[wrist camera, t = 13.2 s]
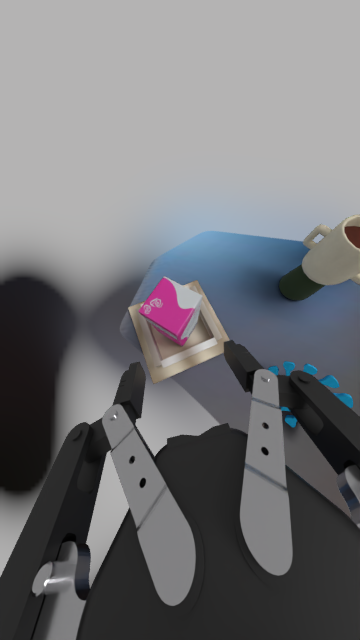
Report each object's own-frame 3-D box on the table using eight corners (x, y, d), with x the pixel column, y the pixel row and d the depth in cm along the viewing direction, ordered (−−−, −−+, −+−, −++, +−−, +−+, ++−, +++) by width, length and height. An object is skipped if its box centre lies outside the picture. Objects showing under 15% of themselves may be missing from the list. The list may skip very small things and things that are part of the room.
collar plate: (196, 282, 30) (197, 272, 27) (232, 348, 26) (238, 346, 22) (130, 309, 29) (122, 302, 26) (154, 383, 24) (149, 387, 21)
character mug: (324, 297, 28) (437, 246, 15) (301, 317, 27) (401, 279, 14) (283, 263, 31) (349, 197, 18) (261, 280, 30) (315, 222, 17)
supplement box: (173, 308, 27) (164, 273, 16) (197, 322, 26) (206, 295, 15) (157, 331, 26) (136, 310, 15) (182, 347, 25) (179, 337, 14)
